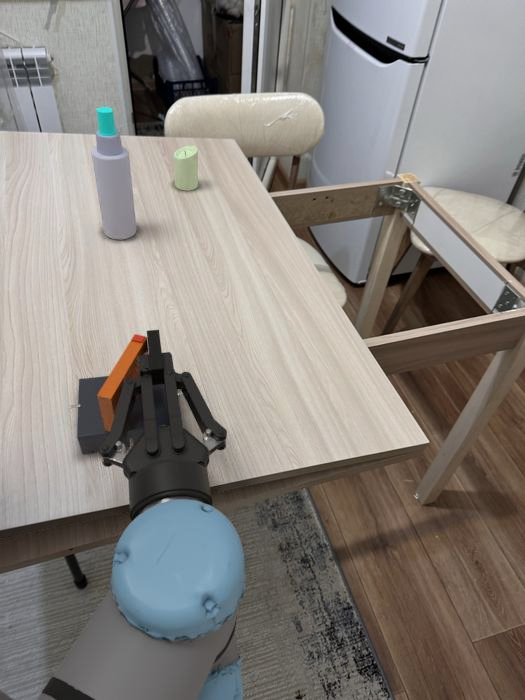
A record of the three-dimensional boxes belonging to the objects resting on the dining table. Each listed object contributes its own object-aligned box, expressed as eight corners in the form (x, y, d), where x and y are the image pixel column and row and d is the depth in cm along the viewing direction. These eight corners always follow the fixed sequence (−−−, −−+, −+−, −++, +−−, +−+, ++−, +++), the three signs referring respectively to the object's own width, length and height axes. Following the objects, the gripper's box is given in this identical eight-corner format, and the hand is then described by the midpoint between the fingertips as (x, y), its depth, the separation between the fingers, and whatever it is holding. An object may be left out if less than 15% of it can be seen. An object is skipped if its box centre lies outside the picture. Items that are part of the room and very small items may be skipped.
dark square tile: (71, 474, 56) (65, 457, 53) (75, 382, 65) (70, 363, 63) (194, 456, 59) (194, 439, 56) (181, 371, 69) (180, 353, 66)
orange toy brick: (118, 434, 56) (110, 397, 51) (105, 430, 56) (96, 393, 51) (150, 372, 63) (146, 335, 58) (139, 370, 63) (134, 332, 59)
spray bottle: (101, 225, 93) (82, 103, 77) (133, 221, 95) (121, 102, 79) (106, 242, 89) (87, 117, 73) (139, 238, 91) (127, 116, 75)
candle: (178, 191, 105) (177, 154, 99) (172, 181, 108) (171, 144, 102) (200, 189, 106) (200, 152, 101) (194, 179, 109) (194, 142, 104)
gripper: (103, 546, 45) (102, 364, 61) (240, 522, 48) (205, 354, 64) (91, 508, 40) (93, 319, 56) (245, 483, 43) (206, 311, 59)
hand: (153, 338), depth 60 cm, fingers closed
